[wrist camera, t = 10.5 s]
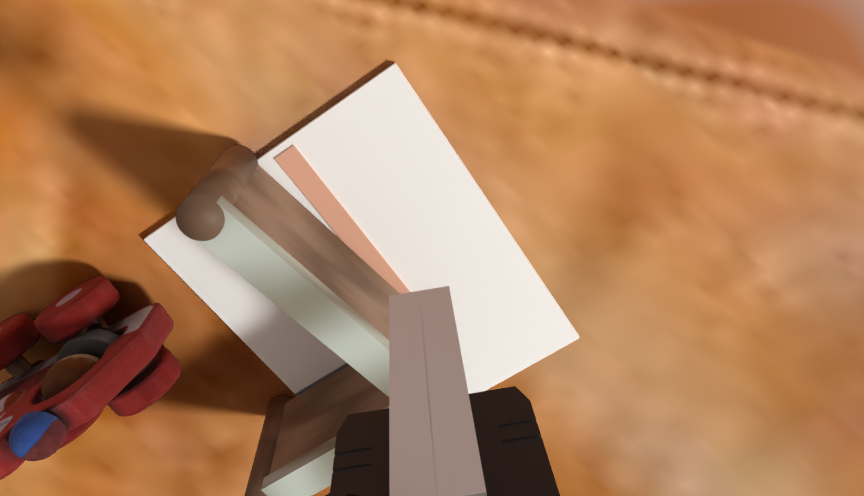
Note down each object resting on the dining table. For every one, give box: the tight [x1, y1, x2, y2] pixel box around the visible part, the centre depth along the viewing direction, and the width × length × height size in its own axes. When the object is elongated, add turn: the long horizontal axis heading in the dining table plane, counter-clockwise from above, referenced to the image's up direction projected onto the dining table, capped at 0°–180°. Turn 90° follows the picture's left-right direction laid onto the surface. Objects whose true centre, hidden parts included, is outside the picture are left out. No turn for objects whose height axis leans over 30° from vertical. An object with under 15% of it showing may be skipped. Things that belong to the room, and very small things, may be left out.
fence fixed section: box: [245, 365, 389, 496], centre depth 34 cm, size 12×2×9 cm, turn 123°
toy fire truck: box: [0, 276, 181, 480], centre depth 31 cm, size 7×12×10 cm, turn 116°
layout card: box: [144, 62, 580, 396], centre depth 35 cm, size 16×19×1 cm
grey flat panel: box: [176, 145, 400, 397], centre depth 30 cm, size 13×2×7 cm, turn 42°
